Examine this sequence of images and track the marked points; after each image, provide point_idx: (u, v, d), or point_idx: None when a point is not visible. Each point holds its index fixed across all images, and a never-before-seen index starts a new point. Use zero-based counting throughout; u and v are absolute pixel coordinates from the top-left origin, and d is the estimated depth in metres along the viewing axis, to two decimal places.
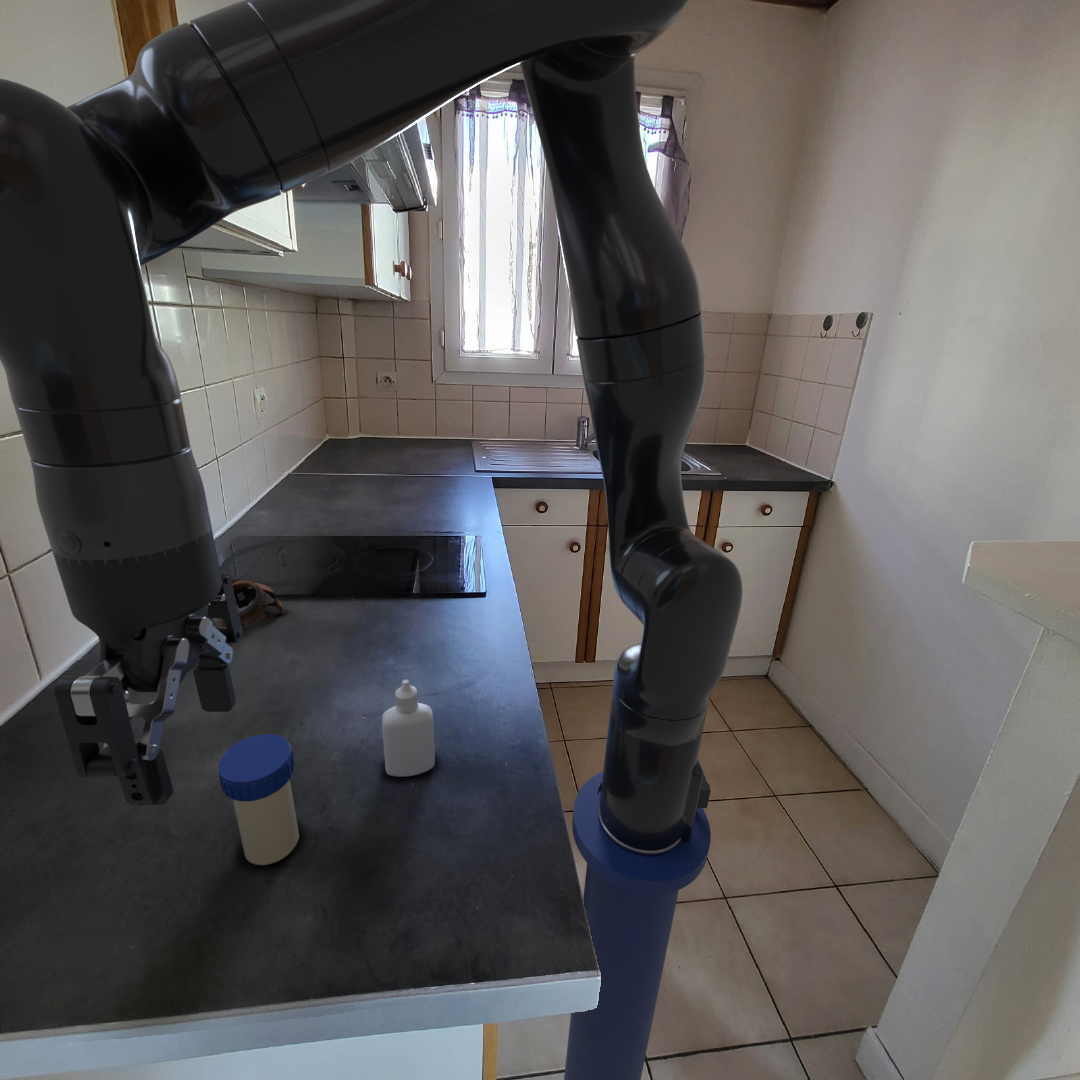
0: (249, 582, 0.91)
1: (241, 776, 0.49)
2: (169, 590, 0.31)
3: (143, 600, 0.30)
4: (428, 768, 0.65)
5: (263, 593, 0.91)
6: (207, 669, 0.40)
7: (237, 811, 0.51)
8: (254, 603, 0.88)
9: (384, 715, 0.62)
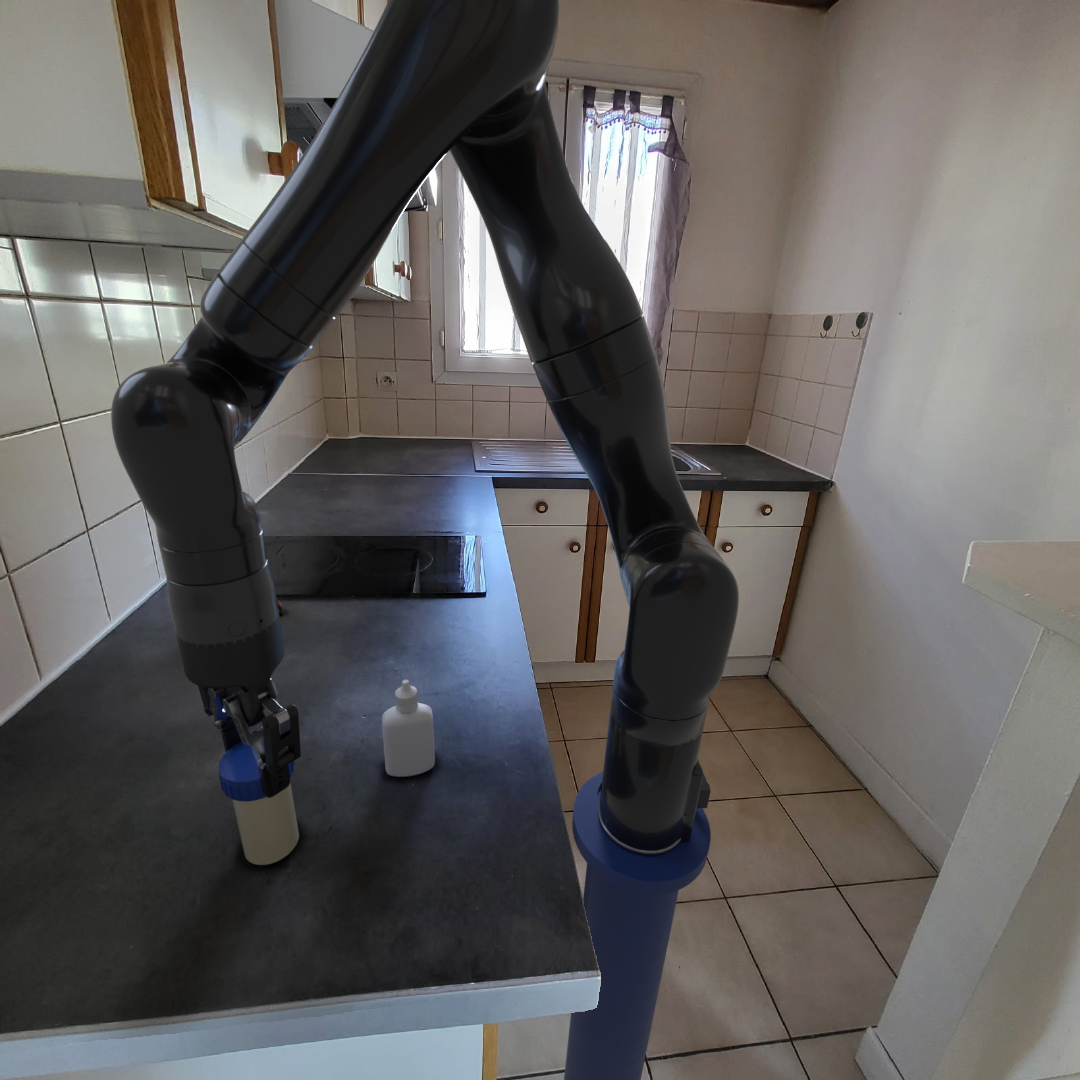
0: None
1: (241, 776, 0.49)
2: (280, 640, 0.47)
3: (274, 651, 0.46)
4: (428, 768, 0.65)
5: None
6: (234, 727, 0.52)
7: (237, 811, 0.51)
8: None
9: (384, 715, 0.62)
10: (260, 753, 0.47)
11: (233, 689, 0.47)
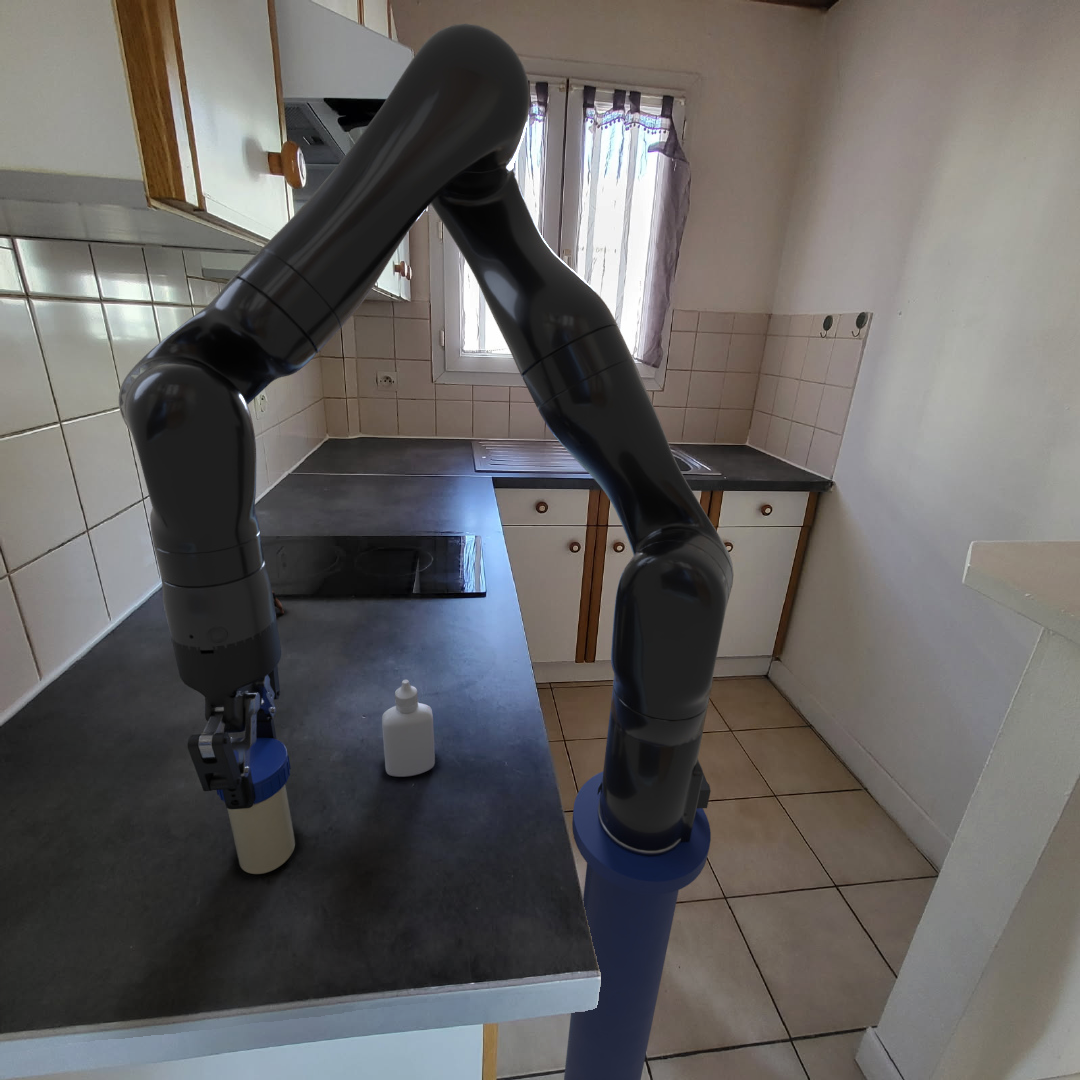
0: None
1: (278, 748, 0.52)
2: None
3: None
4: (428, 768, 0.65)
5: None
6: None
7: (234, 820, 0.50)
8: None
9: (384, 715, 0.62)
10: None
11: None
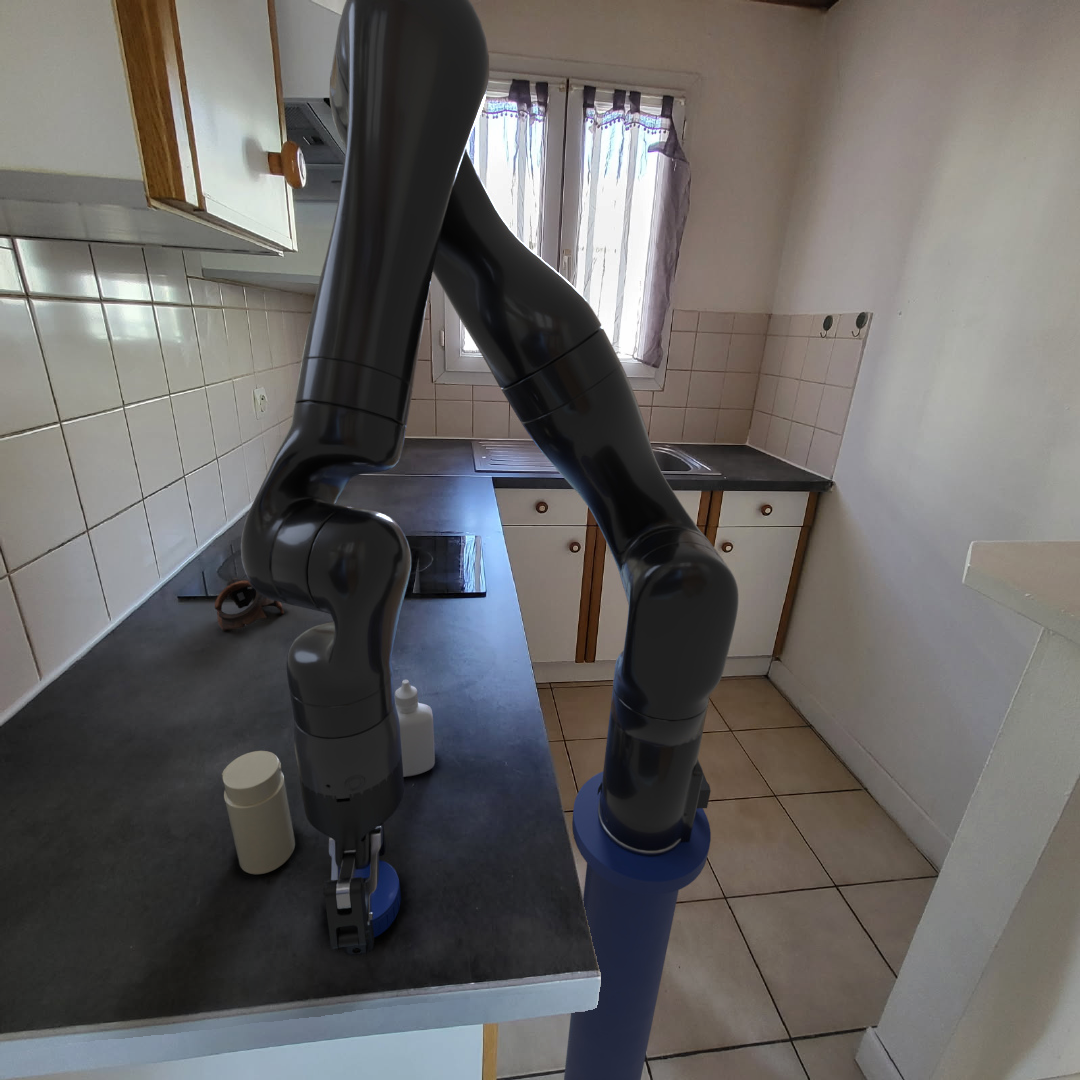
0: (249, 582, 0.91)
1: (388, 873, 0.51)
2: None
3: None
4: (428, 768, 0.65)
5: None
6: None
7: (233, 821, 0.50)
8: (254, 603, 0.88)
9: None
10: None
11: None
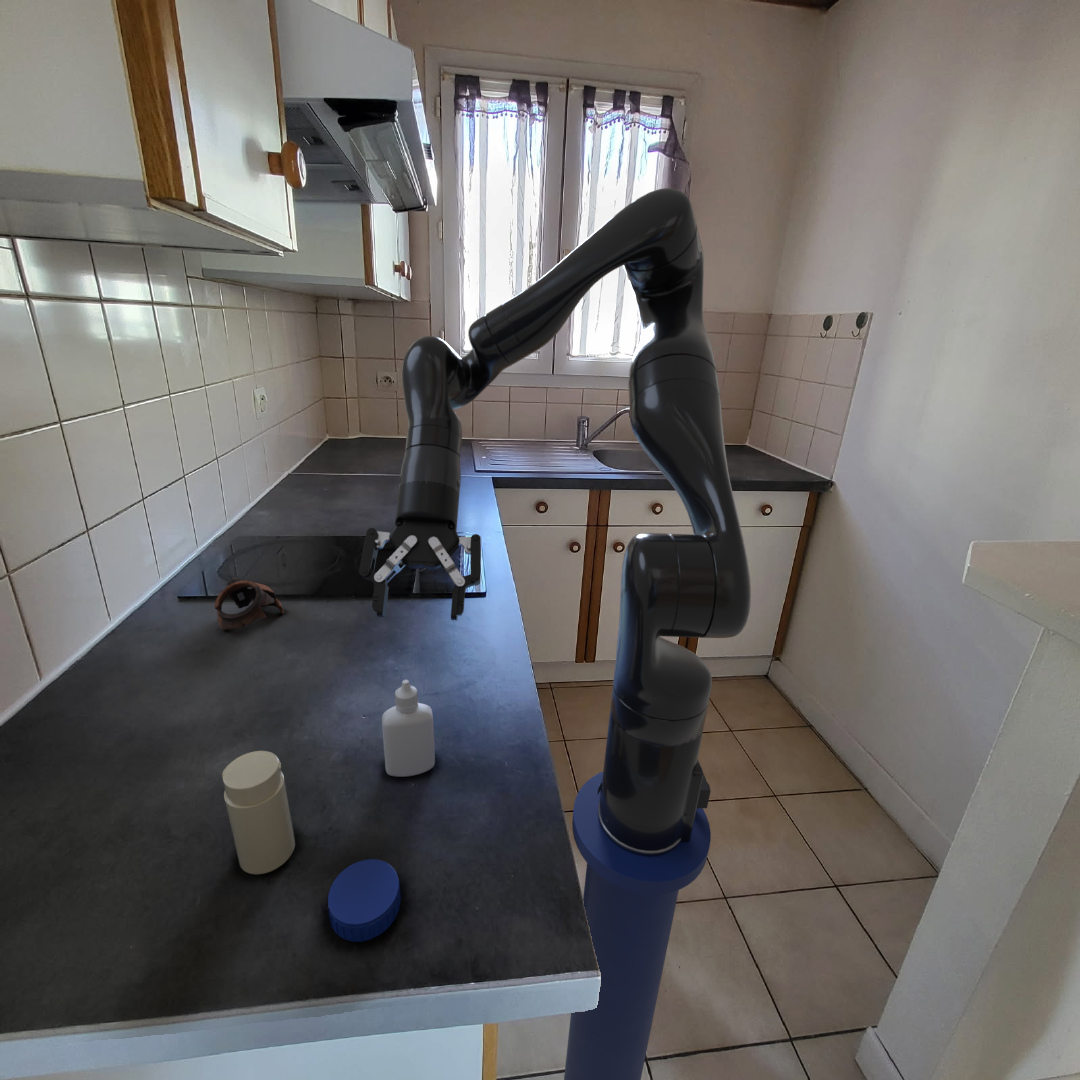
0: (249, 582, 0.91)
1: (388, 873, 0.51)
2: None
3: None
4: (428, 768, 0.65)
5: (263, 593, 0.91)
6: (386, 585, 0.66)
7: (233, 821, 0.50)
8: (254, 603, 0.88)
9: (384, 715, 0.62)
10: (460, 573, 0.67)
11: (434, 534, 0.68)
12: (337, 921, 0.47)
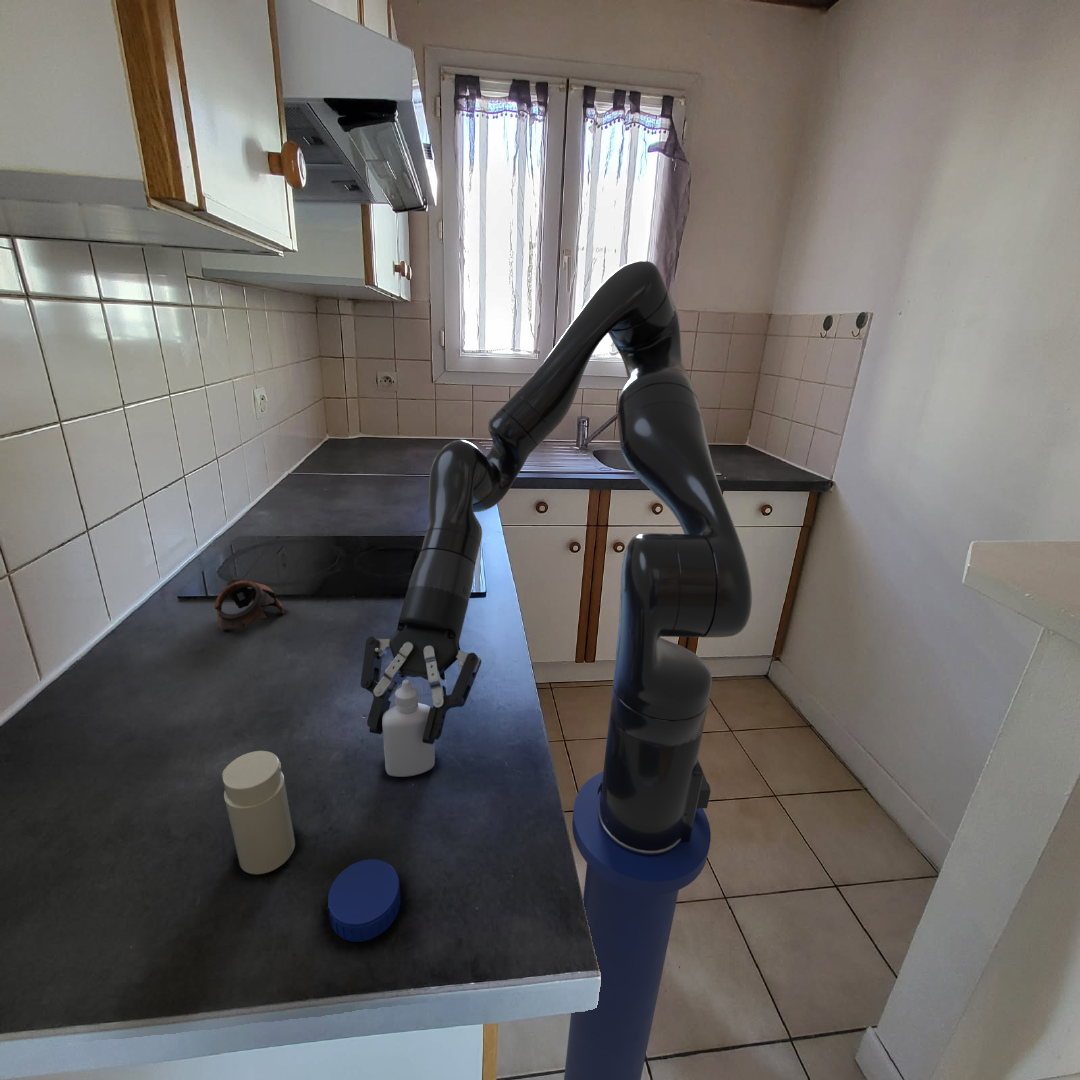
0: (249, 582, 0.91)
1: (388, 873, 0.51)
2: None
3: None
4: (428, 768, 0.65)
5: (263, 593, 0.91)
6: (386, 699, 0.63)
7: (233, 821, 0.50)
8: (254, 603, 0.88)
9: (384, 715, 0.62)
10: (442, 692, 0.62)
11: (432, 642, 0.64)
12: (337, 921, 0.47)
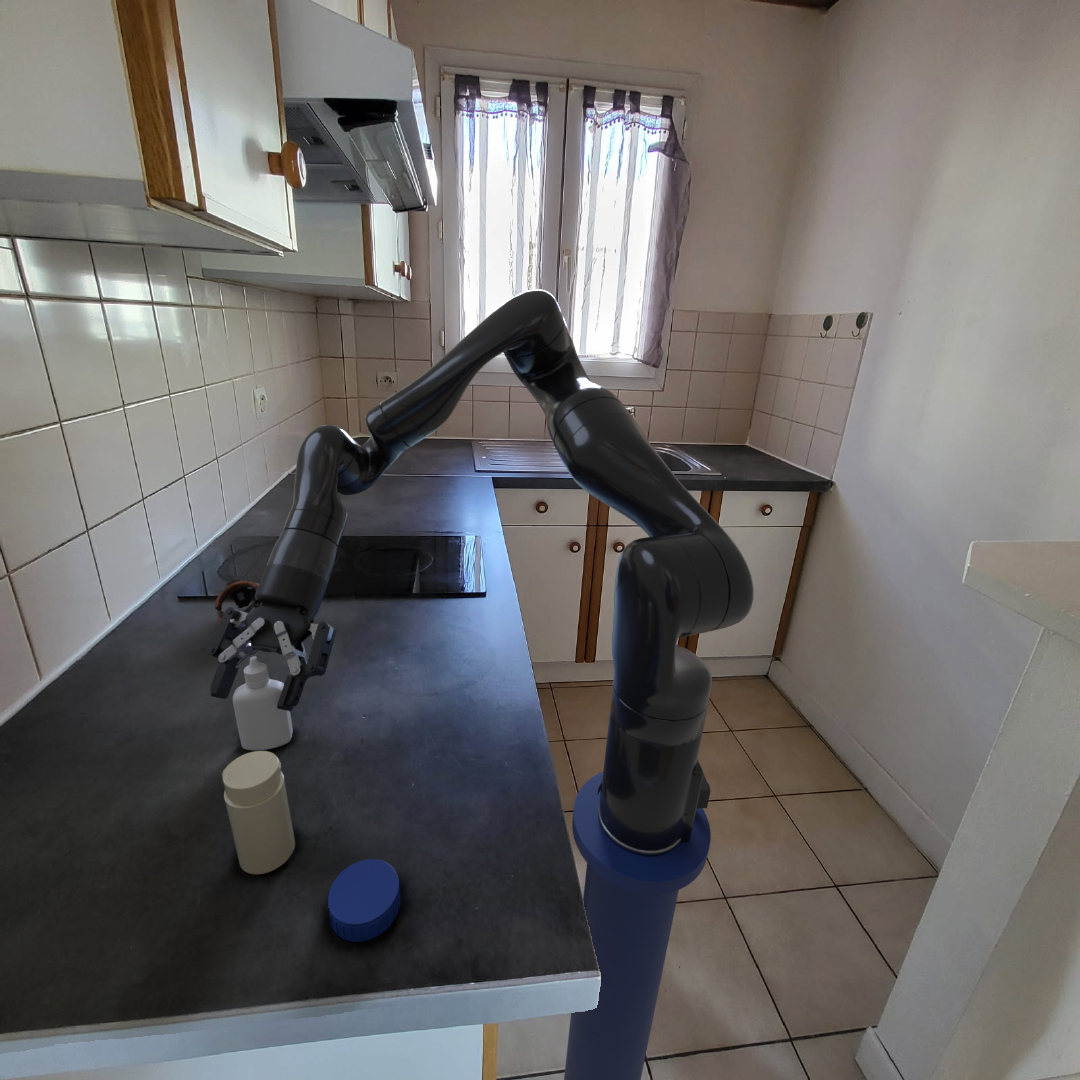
0: (249, 582, 0.91)
1: (388, 873, 0.51)
2: None
3: None
4: (283, 742, 0.67)
5: None
6: (231, 666, 0.66)
7: (233, 821, 0.50)
8: (254, 603, 0.88)
9: (235, 691, 0.65)
10: (298, 661, 0.64)
11: (285, 618, 0.67)
12: (337, 921, 0.47)
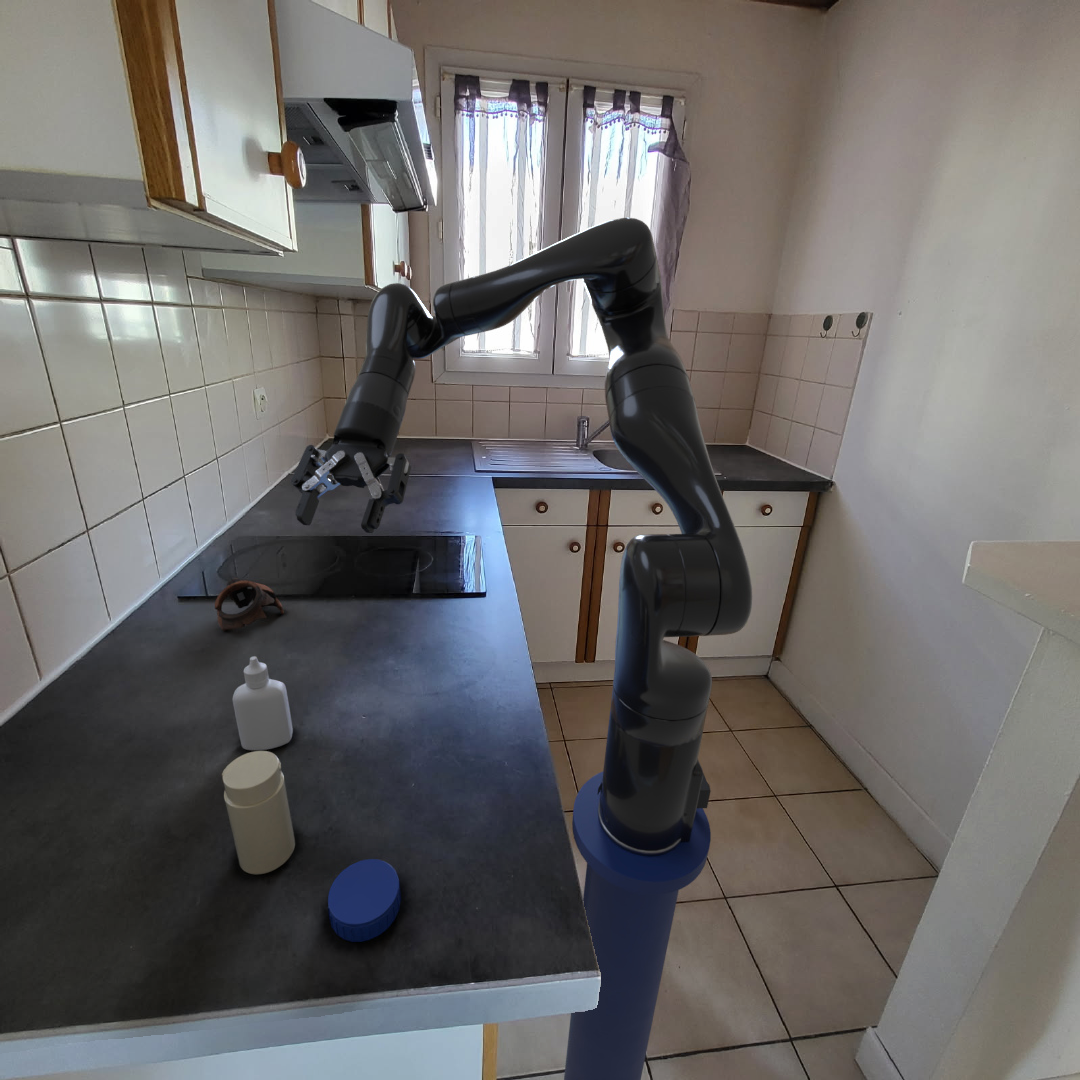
0: (249, 582, 0.91)
1: (388, 873, 0.51)
2: None
3: (394, 444, 0.74)
4: (283, 742, 0.67)
5: (263, 593, 0.91)
6: (314, 496, 0.70)
7: (233, 821, 0.50)
8: (254, 603, 0.88)
9: (235, 691, 0.65)
10: (379, 487, 0.68)
11: (363, 452, 0.71)
12: (337, 921, 0.47)
